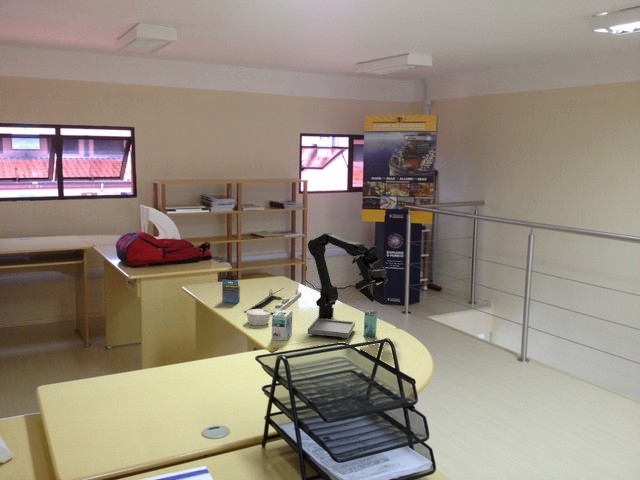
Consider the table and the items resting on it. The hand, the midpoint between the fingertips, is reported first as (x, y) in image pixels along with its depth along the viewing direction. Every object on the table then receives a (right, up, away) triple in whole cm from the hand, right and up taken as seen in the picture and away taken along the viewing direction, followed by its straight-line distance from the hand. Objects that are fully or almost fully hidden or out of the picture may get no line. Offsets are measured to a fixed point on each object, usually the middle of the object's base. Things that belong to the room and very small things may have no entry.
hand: (378, 299), depth 272 cm
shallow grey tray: (-22, -15, -3) cm, 26 cm away
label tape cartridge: (-74, -6, +46) cm, 87 cm away
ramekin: (-56, -12, +10) cm, 58 cm away
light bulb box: (-43, -15, -10) cm, 47 cm away
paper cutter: (-51, -7, +46) cm, 69 cm away
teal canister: (-5, -16, -5) cm, 17 cm away
